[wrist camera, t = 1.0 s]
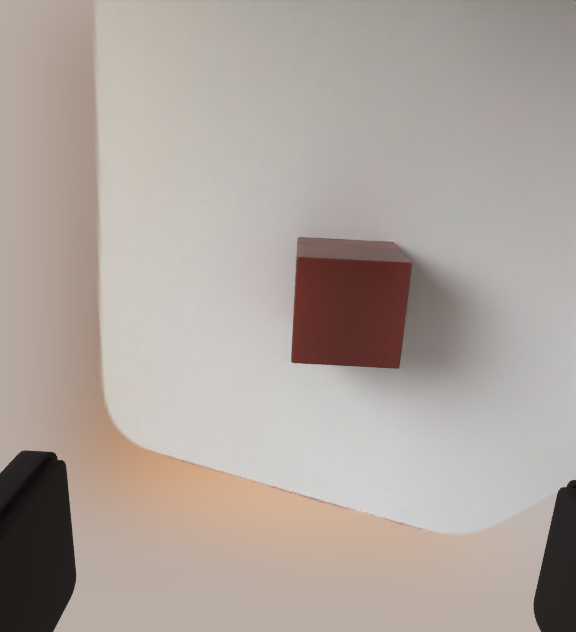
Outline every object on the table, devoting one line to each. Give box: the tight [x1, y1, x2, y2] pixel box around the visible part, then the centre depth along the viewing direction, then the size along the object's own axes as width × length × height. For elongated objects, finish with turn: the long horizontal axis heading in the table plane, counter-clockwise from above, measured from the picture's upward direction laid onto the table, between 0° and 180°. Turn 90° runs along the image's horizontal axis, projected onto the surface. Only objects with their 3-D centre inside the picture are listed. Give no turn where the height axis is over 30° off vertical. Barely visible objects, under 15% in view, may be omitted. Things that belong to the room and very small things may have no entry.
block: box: [291, 237, 412, 369], centre depth 24 cm, size 4×4×4 cm
